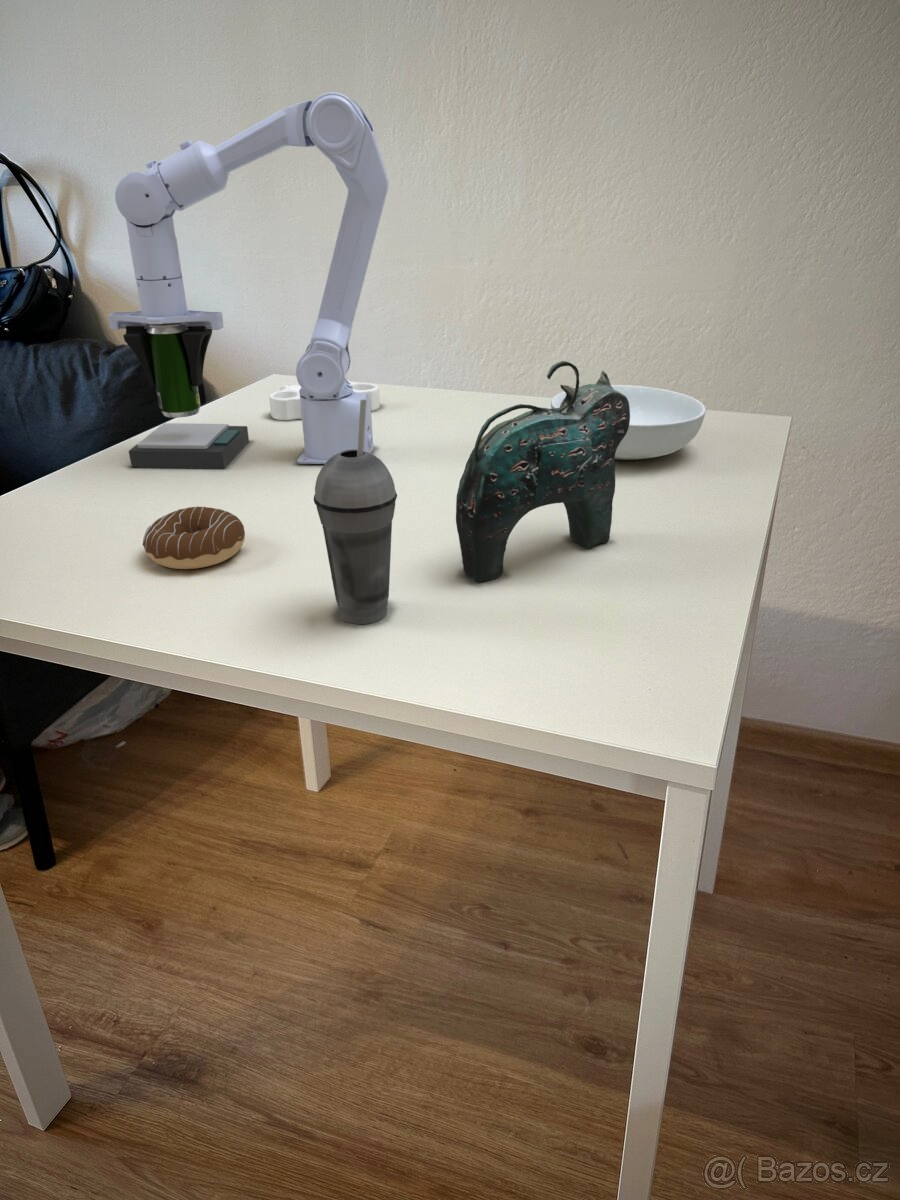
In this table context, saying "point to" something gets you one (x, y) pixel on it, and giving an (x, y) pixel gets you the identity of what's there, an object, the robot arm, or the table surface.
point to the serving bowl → (655, 421)
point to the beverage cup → (357, 529)
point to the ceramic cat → (542, 472)
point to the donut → (194, 538)
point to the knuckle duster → (289, 405)
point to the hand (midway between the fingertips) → (176, 384)
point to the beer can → (172, 371)
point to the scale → (189, 446)
